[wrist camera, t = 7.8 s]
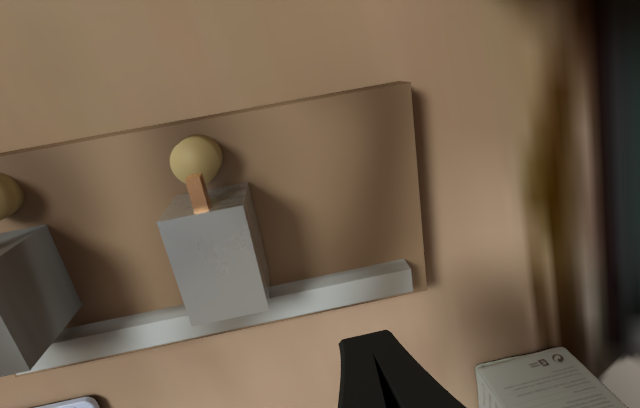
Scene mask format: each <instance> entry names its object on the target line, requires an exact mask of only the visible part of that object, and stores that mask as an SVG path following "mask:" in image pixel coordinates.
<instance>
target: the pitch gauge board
mask: <svg viewBox="0 0 640 408" xmlns="http://www.w3.org/2000/svg"><path fill="white" fill-rule="evenodd" d="M198 173H202V174H203V177H204V181H205V184H206V188H207V189H212V188H218V187H223V186H228V185H233V184H239V183H244V182H248V184H249V188H250V192H251V196H252V201H253V205H254V209H255V213H256V217H257V222H258V226H259V230H260V234H261V238H262V242H263V247H264V251H265V255H266V259H267V263H268V267H269V272H270V284H269V311H264V312H259V313H255V314H250V315H245V316H240V317H236V318H231V319H226V320H221V321H216V322H212V323H207V324H202V325H197V326H193V327H192V326H191V323H190V320H189V317H188V314H187V311H186V308H185V305H184V302H183V299H182V296H181V293H180V290H179V287H178V284H177V282H176V279H175V276H174V273H173V270H172V267H171V264H170V261H169V258H168V255H167V252H166V249H165V246H164V243H163V240H162V237H161V234H160V231H159V228H158V225H157V223H156V222H157V221H158V219H159V218H160V217H161V215H162V214H163V213H164V211H165V210H166V209H167V207H168V206H169V205H170V203H171V202H172V201H173V199H174V198H175V197H176V195H181V194H186V193H188V189H187V186H186V182H185V179H186V178H187V176H188V175H193V174H198ZM424 290H427V285H426V272H425V259H424V246H423V234H422V221H421V208H420V196H419V183H418V170H417V157H416V145H415V132H414V119H413V107H412V94H411V82H403V81H397V82H392V83H386V84H381V85H375V86H370V87H364V88H358V89H353V90H347V91H342V92H336V93H331V94H325V95H320V96H314V97H309V98H303V99H297V100H292V101H286V102H281V103H275V104H270V105H264V106H259V107H253V108H248V109H242V110H236V111H231V112H225V113H220V114H214V115H209V116H203V117H198V118H192V119H187V120H181V121H175V122H170V123H164V124H159V125H153V126H148V127H142V128H137V129H131V130H126V131H120V132H114V133H109V134H103V135H98V136H92V137H87V138H81V139H76V140H70V141H65V142H59V143H54V144H48V145H42V146H37V147H31V148H26V149H20V150H15V151H9V152H4V153H0V377H2V376H7V375H12V374H14V375H15V377H18V376H23V375H28V374H33V373H37V372H42V371H47V370H51V369H56V368H61V367H66V366H70V365H75V364H80V363H85V362H89V361H94V360H99V359H103V358H108V357H113V356H118V355H122V354H127V353H132V352H136V351H141V350H146V349H151V348H155V347H160V346H165V345H170V344H174V343H179V342H184V341H188V340H193V339H198V338H203V337H207V336H212V335H217V334H221V333H226V332H231V331H236V330H240V329H245V328H250V327H254V326H259V325H264V324H269V323H273V322H278V321H283V320H288V319H292V318H297V317H302V316H306V315H311V314H316V313H321V312H325V311H330V310H335V309H339V308H344V307H349V306H354V305H358V304H363V303H368V302H373V301H377V300H382V299H387V298H391V297H396V296H401V295H406V294H410V293H415V292H420V291H424Z"/></svg>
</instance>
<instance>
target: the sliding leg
mask: <svg viewBox="0 0 640 408" xmlns="http://www.w3.org/2000/svg"><path fill="white" fill-rule="evenodd" d="M185 182H186V186H187V189H188V193H186V194H181V195H176V197H175V198H174V199H173V201H172V202H171V203H170V205H169V206H168V207H167V209H166V210H165V211H164V213H163V214H162V215H161V217H160V218H159V219H158V221H157V222H156V223H157V225H158V228H159V231H160V234H161V237H162V240H163V243H164V246H165V249H166V252H167V255H168V258H169V261H170V264H171V267H172V270H173V273H174V276H175V279H176V282H177V284H178V287H179V290H180V293H181V296H182V299H183V302H184V305H185V308H186V311H187V314H188V317H189V320H190V323H191V326H192V327H193V326H197V325H202V324H207V323H212V322H216V321H221V320H226V319H231V318H236V317H240V316H245V315H250V314H255V313H259V312H264V311H269V284H270V272H269V267H268V263H267V259H266V255H265V251H264V247H263V242H262V238H261V234H260V230H259V226H258V222H257V217H256V213H255V209H254V205H253V201H252V196H251V192H250V188H249V184H248V182H244V183H239V184H233V185H228V186H223V187H218V188H212V189H207V188H206V184H205V181H204V177H203V174H202V173H198V174H193V175H188V176H187V178H186V179H185Z"/></svg>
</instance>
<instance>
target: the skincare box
mask: <svg viewBox="0 0 640 408" xmlns="http://www.w3.org/2000/svg"><path fill="white" fill-rule="evenodd" d="M475 371H476V379H477V384H478V400H479V408H628V407H627V406H626V405H625V404H623V403H622V402H621V401H620V400H619V399H618V398H617V397H616V396H615V395H614V394H613V393H612V392H611V391H610V390H609V389H608V388H607V387H606V386H605V385H604V384H603V383H602V382H601V381H600V380H598V379H597V378H596V377H595V376H594V375H593V374H592V373H591V372H590V371H589V370H588V369H587V368H586V367H585V366H584V365H583V364H582V363H581V362H579V361H578V360H577V359H576V358H575V357H574V356H573V355H572V354H571V353H570V352H569V351H568V350H567V349H566V348H564V347H556V348H551V349H547V350H544V351H541V352H537V353H532V354H528V355H523V356H517V357H511V358H506V359H502V360H497V361H493V362H488V363H484V364H480V365H477V366H476V368H475Z"/></svg>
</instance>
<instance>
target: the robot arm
mask: <svg viewBox="0 0 640 408" xmlns="http://www.w3.org/2000/svg"><path fill="white" fill-rule="evenodd" d="M339 348H340V355H341V380H340V391H339V401H338V408H466V407H465V406H464V405H463V404H461V403H460V402H459V401H458V400H457V399H456V398H454V397H453V396H452V395H451V394H450V393H449V392H448V391H447V390H446V389H444V388H443V387H442V386H441V385H440V384H439V383H438V382H437V381H436V380H435V379H434V378H433V377H432V376H431V375H430V374H429V373H428V372H427V371H426V370H425V369H424V368H423V367H422V366H421V365H420V364H419V363H418V362H417V361H416V360H415V359H414V358H413V357H412V356H411V355H410V354H409V353H408V352H407V351H406V350H405V348H404V347H403V346H402V345H401V344H400V343H399V342H398V340H397V339H396V338H395V337H394V336H393V334H392V333H391V332H390V331H388V330H383V331H378V332H374V333H370V334H365V335H361V336H356V337H352V338H347V339H343V340H342V341H341V342H340V343H339ZM35 408H100V407H99V405H98V403H97V401H96V400H95V399H94V398H92V397H82V398H77V399H72V400H68V401H63V402H58V403H54V404H49V405H45V406H40V407H35Z"/></svg>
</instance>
